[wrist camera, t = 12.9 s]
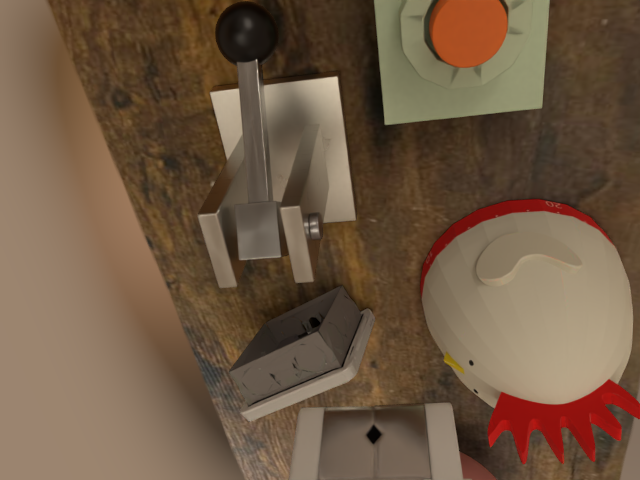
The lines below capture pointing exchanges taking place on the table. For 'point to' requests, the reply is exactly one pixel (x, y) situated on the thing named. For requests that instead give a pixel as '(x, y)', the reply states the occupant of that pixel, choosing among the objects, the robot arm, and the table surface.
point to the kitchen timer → (533, 319)
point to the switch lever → (253, 126)
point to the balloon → (474, 469)
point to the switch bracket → (284, 170)
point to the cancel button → (467, 30)
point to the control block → (454, 82)
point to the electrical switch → (302, 354)
